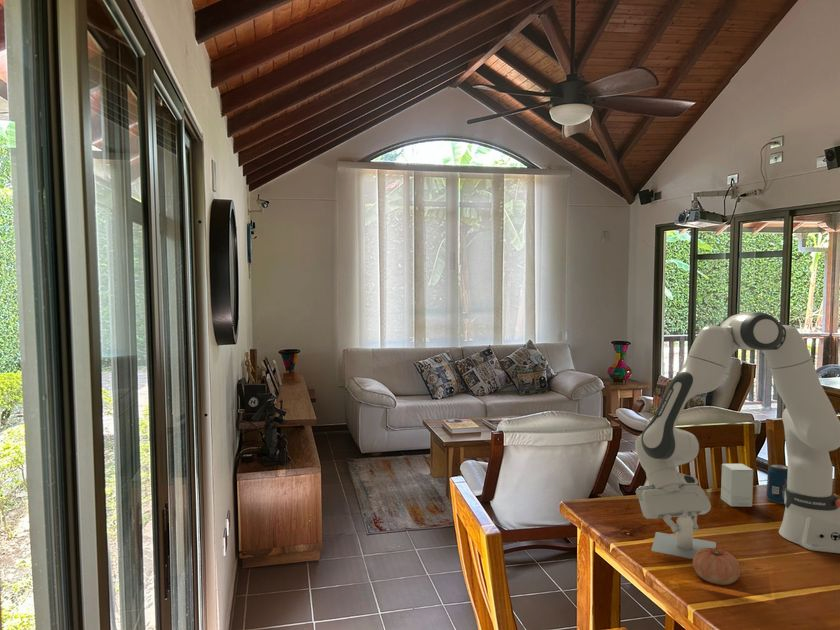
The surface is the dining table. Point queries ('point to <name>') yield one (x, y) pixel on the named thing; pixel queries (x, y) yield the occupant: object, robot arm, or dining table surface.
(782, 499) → the soda can
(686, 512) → the white rounded bottle
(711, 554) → the tomato
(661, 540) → the grey pad
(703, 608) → the dining table surface
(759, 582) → the dining table surface
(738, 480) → the supplement box
